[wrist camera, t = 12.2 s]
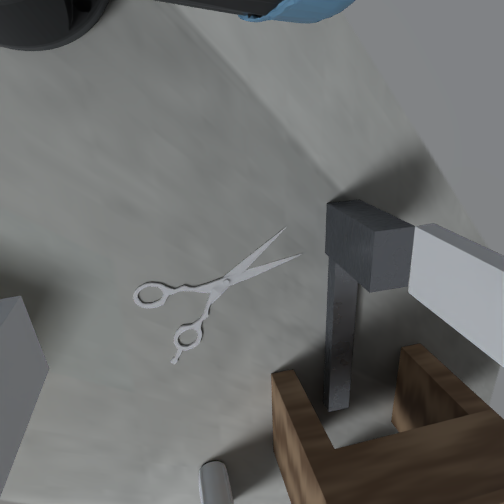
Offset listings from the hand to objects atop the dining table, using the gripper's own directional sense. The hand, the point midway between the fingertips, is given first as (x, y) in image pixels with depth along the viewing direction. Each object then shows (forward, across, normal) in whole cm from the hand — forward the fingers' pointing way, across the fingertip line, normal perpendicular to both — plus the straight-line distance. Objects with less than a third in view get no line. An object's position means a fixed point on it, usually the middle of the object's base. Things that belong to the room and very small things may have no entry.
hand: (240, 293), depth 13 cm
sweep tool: (+26, +16, -21) cm, 37 cm away
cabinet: (+26, +18, -36) cm, 47 cm away
